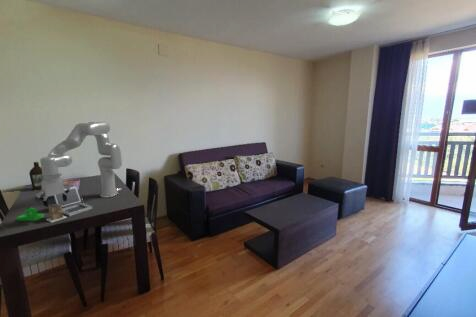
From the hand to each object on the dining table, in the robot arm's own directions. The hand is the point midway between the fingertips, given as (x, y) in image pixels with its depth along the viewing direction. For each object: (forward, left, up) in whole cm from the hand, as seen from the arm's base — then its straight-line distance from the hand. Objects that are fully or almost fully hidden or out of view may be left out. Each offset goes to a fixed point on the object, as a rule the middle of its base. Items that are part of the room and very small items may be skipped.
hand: (55, 203), depth 139 cm
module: (+1, 0, -9) cm, 9 cm away
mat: (+1, 0, -10) cm, 10 cm away
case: (-12, -4, -10) cm, 16 cm away
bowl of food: (-25, -46, -10) cm, 54 cm away
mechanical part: (+8, -15, -10) cm, 20 cm away
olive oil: (-21, -85, -10) cm, 88 cm away
